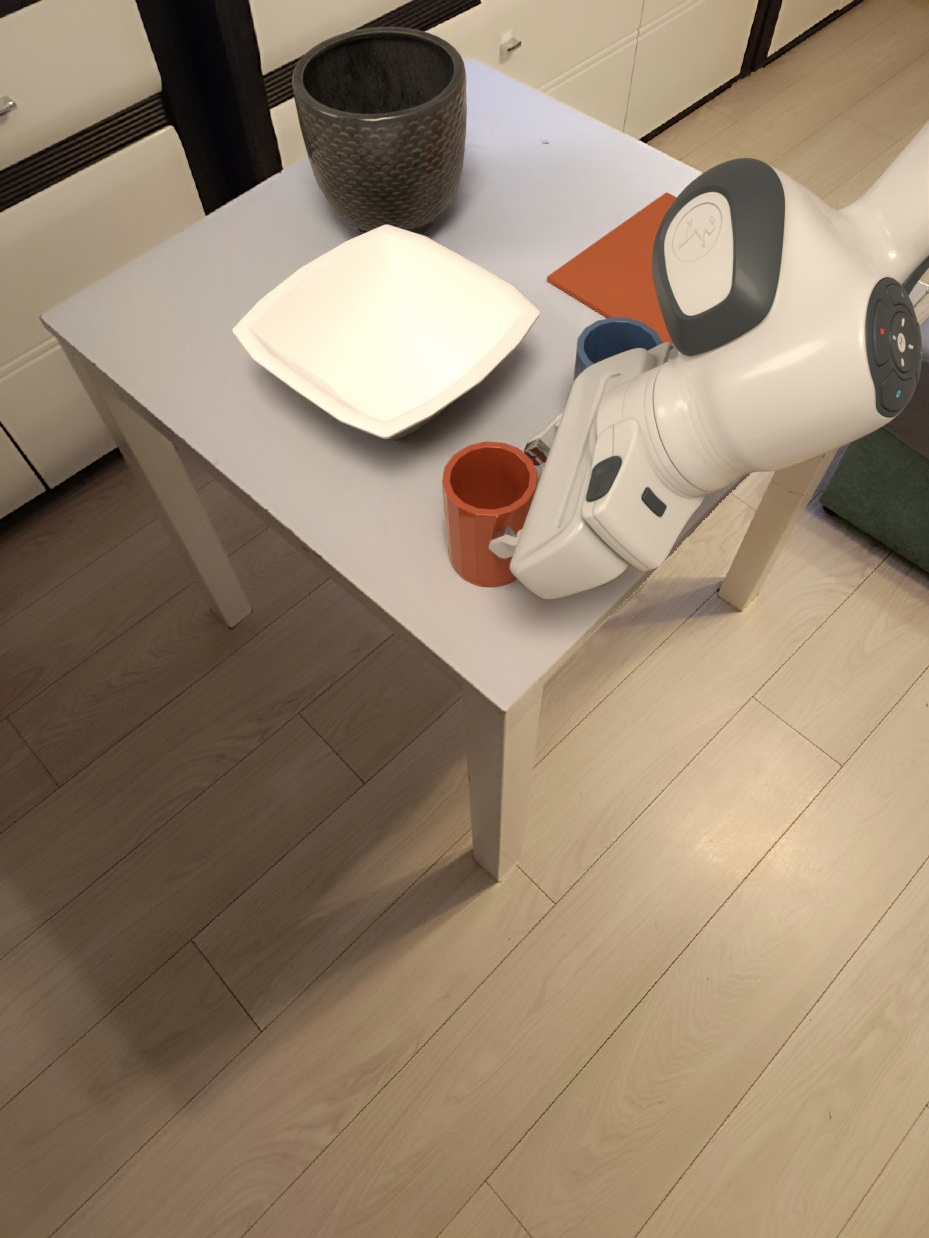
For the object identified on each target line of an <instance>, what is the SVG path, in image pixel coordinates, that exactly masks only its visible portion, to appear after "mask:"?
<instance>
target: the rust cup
mask: <svg viewBox="0 0 929 1238" xmlns="http://www.w3.org/2000/svg"><path fill="white" fill-rule="evenodd" d="M538 475H539V474H538V471H537V468H536V466H535V465H534V464H533V461H532V460H531V459H530V458H529V457H528V456H527V455H526V454H525V453H524V451H523V450H522V449H520V448H518V447H516V446H514V445H511V444H509V443H506V442H501V441H500V442H499V441H481V442H477V443H472V444H469V445H466V446H465V447H464V448H462V449H460V450H459V451H457V452H455V453H454V454H453V455H452V456H451V457H450V459H449V460H448V462H447V463H446V465H445V466H444V467H443V472H442V478H441V479H442V480H441V484H442V496H443V508H444V509H443V510H444V517H445V518H444V519H445V521H444V522H445V530H446V532H445V533H446V542H447V552H448V558H449V562H450V564H451V567H452V569H453V570H454V571H455V572H456V575H458V576H459V577H461V578H462V579H463V580H464V581H466V582H468V583H470V584H472V585H475V586H479V587H482V588H483V587H484V588H497V587H503V586H505V585H509V584H511V583H513V582H515V581H517V580H518V579H517V578H516V577H515V576H514V575H513V573H512V572H511V570H510V562H511V559H512V557H513V556H512V557H509V558H505V559H504V558H500V557H498V556H497V555H496V554H495V553H493V552H492V551H491V550H490V549H489V544H490V541H491V539H492V536H493V534H494V531H495V530H497V529H498V530H500V529H501V528H503V527H505V526H509V527H510V528H511V529H512V530H513V531H514V533H515V534H517V533H518V531H519V530H522V529H523V526H524V523H525V520H526V517H527V514H528V512H529V509H530V506H531V503H532V500H533V497H534V494H535V492H536V489H537V486H538V477H539V476H538Z"/></svg>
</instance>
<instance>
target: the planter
mask: <svg viewBox="0 0 929 1238" xmlns="http://www.w3.org/2000/svg"><path fill="white" fill-rule="evenodd" d="M466 72H467V71H466V67H465V62H464V60H463V58H462V55H461V54H460V52H459V51H458V50H457V49H456V47H454V45H452V44H451V43H450V42H448V41H447V40H445V39H443V38H442V37H440V36H438V35H435V34H433V33H430V32H427V31H423V30H420V29H417V28H409V27H403V26H401V27H400V26H375V27H365V28H360V29H359V28H358V29H354V30H349V31H347V32H343V33H340V34H337V35H334V36H331V37H330V38H327V39H325V40H323V41H321V42H320V43H318V44H316V45H314V46H313V47H311V48H310V49H309V50H307V52H305V54H304V55H302V57H301V58H300V59H299V60H298V61H297V63H296V65H295V66H294V69H293V72H292V76H291V87H292V94H293V99H294V104H295V108H296V114H297V119H298V124H299V127H300V132H301V136H302V139H303V142H304V147H305V150H306V154H307V157H308V160H309V163H310V166H311V170H312V173H313V176H314V178H315V181H316V184H317V186H318V188H319V190H320V191H321V194H322V195H323V197H324V198H325V200H326V202H327V203H328V205H329V206H330V208H331V209H332V210H333V211H334V212H335V213H336V214H337V215H338V216H339V217H340V218H342V219H343V220H344V221H345V222H347V223H348V224H350V225H352V226H353V227H355V228H357V229H358V230H359V231H360V232H361V233H362V234H364V233H366V232H369V231H371V230H373V229H376V228H378V227H380V226H383V225H391V226H394V227H397V228H401V229H404V230H407V231H410V232H413V233H417V234H420V235H423V233H424V232H426V231H427V230H428V229H429V228H430V227H431V225H432V224H433V222H434V221H435V220H436V219H437V218H439V216H440V215H441V214H442V213H443V212H444V211H445V210H446V209H447V208H448V206H449V204H450V203H451V202H452V200H453V199H454V197H455V194H456V192H457V189H458V186H459V184H460V181H461V177H462V172H463V168H464V161H465V151H466V139H467V117H468V116H467V115H468V114H467V113H468V102H467V99H468V98H467V73H466Z"/></svg>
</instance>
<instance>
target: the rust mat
mask: <svg viewBox="0 0 929 1238" xmlns="http://www.w3.org/2000/svg"><path fill="white" fill-rule="evenodd" d="M676 198H677V196H675V195H673V194H671V193H669V192H668V191H666V192H665V193H663V194H662V195H660V196H659V197H657V198H656V199H655V200H653V201H652V202H650V203H649V204H648V205H646V206H645V207H643V208H642V209H640V210H639V211H637V212H636V213H635V214H633V215H632V216H631V217H629V218H628V219H627V220H625V221H624V222H622V223H621V224H619V225H618V226H617V227H615V228H614V229H611V231H609V232H608V233H606V234H605V235H603V236H602V237H601V238H599V239H598V240H596V241H595V242H594V243H592V244H590V246H588V247H587V248H585V249H584V250H583V251H581V252H580V253H578V254H577V255H576V256H574V257H573V258H571V259H570V260H568V261H567V262H566V263H564V264H563V265H561V266H560V267H558V268H557V269H556V270H554V271H553V272H552V273H550V274H548V275H547V276H546V281H547V282H548V283H549V284H551V285H552V286H554V287H556V288H557V289H559V290H561V291H562V292H564V293H565V294H567V295H568V296H570V297H572V298H573V299H575V300H577V301H578V302H580V303H581V304H582V305H583V304H584V305H585V306H587V307H588V308H590V309H592V310H593V311H594V312H596V313H598V314H599V315H601V316H603V317H604V318H605V319H607V318H611V317H621V318H631V319H634V320H637V321H640V322H643V323H645V324H647V325H648V326H649V327H651V328H652V329H653V330H655V331H656V332H657V333H658V335H659V337H660V338H661V340H662V342H663V343H665V342H669V343H670V344H673V342H672V340H671V338H670V336H669V333H668V331H667V328H666V325H665V322H664V319H663V316H662V312H661V309H660V306H659V302H658V298H657V294H656V291H655V286H654V282H653V276H652V252H653V246H654V241H655V237H656V234H657V231H658V228H659V226H660V223H661V221H662V219H663V217H664V215H665V214H666V212H667V210H668V209H669V207H670V206H671V204H672V203H673V202H674V200H675V199H676Z"/></svg>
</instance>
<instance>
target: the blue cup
mask: <svg viewBox="0 0 929 1238" xmlns="http://www.w3.org/2000/svg"><path fill="white" fill-rule="evenodd" d="M662 343H663V342H662V340H661V338H660V337H659V335H658V333H657V332H656V331H655V330H653V329H652V328H651V327H649V326H648V325H647V324H645V323H643V322H640V321H637V320H634V319H631V318H621V317H611V318H603V319H599V320H596V321H594V322H593V323H591V324H589V325H587V326H586V327H584V329H583V330H582V332H581V333H580V335H579V336H578V337H577V342H576V350H575V360H574V368H573V369H574V370H573V381H572V384H573V383H574V381H575V379H576V378H577V377H578V376H579V375H580V374H581V373H582V372H583V371H584V370H585V369H586V368H588V367H589V366H591V365H593V364H595V363H598V362H600V361H602V360H605V359H607V358H609V357H612V356H614V355H617V354H620V353H622V352H625V351H628V350H631V349H635V348H644V349H646V350H647V351H648V350H650V349H652V348H654V347H656V346H658V345H660V344H662Z"/></svg>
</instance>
